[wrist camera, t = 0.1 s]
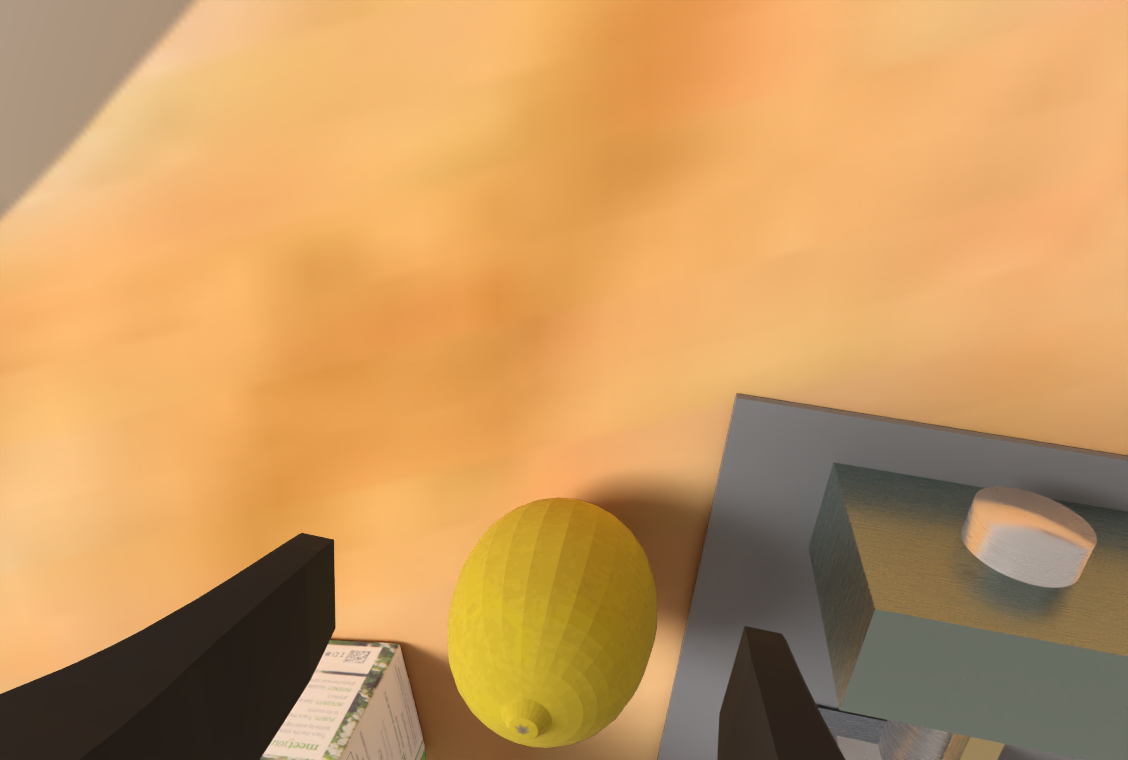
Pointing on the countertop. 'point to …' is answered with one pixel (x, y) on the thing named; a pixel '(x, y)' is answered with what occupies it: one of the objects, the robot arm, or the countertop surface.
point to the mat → (786, 523)
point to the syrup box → (353, 709)
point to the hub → (855, 734)
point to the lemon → (552, 623)
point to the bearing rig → (974, 616)
